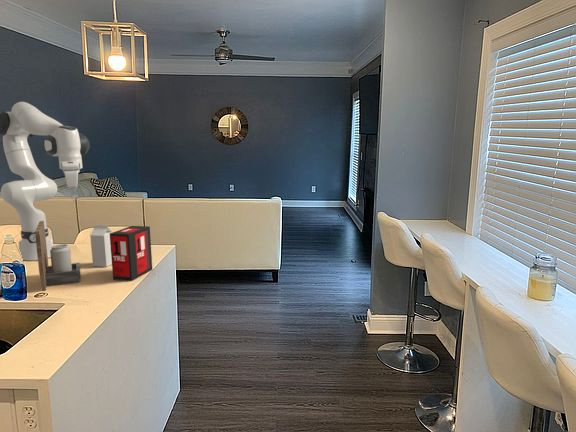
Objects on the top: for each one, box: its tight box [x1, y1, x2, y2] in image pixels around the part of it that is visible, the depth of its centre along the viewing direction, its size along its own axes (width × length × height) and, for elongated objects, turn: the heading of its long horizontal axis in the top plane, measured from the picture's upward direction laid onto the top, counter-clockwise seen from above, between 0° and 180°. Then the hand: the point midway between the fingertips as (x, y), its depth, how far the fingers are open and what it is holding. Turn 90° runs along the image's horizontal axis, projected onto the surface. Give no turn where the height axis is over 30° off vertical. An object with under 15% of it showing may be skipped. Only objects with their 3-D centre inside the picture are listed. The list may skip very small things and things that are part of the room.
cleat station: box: [35, 221, 81, 292], centre depth 192 cm, size 24×14×24 cm, turn 24°
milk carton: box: [89, 224, 114, 268], centre depth 215 cm, size 7×7×19 cm
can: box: [50, 243, 73, 273], centre depth 193 cm, size 8×8×12 cm
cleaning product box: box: [110, 225, 153, 282], centre depth 199 cm, size 16×9×20 cm, turn 166°
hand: (73, 196), depth 198 cm, fingers open, 8 cm apart
